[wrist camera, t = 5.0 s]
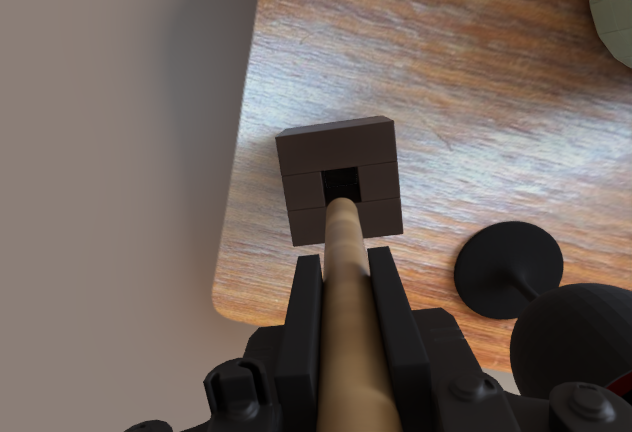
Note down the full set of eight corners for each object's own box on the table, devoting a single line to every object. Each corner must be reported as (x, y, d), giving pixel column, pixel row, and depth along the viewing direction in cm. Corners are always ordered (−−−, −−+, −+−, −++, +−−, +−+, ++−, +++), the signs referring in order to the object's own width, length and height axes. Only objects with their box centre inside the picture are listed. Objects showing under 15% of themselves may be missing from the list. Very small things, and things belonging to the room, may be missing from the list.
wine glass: (523, 198, 38) (713, 303, 19) (583, 277, 40) (807, 444, 21) (432, 264, 41) (519, 417, 22) (492, 336, 43) (621, 535, 23)
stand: (285, 128, 37) (275, 136, 31) (383, 115, 37) (394, 120, 30) (299, 221, 40) (293, 247, 33) (391, 210, 39) (403, 234, 33)
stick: (324, 199, 24) (269, 991, 3) (355, 195, 24) (533, 1001, 3) (328, 228, 24) (306, 1085, 3) (358, 225, 24) (530, 1091, 3)
